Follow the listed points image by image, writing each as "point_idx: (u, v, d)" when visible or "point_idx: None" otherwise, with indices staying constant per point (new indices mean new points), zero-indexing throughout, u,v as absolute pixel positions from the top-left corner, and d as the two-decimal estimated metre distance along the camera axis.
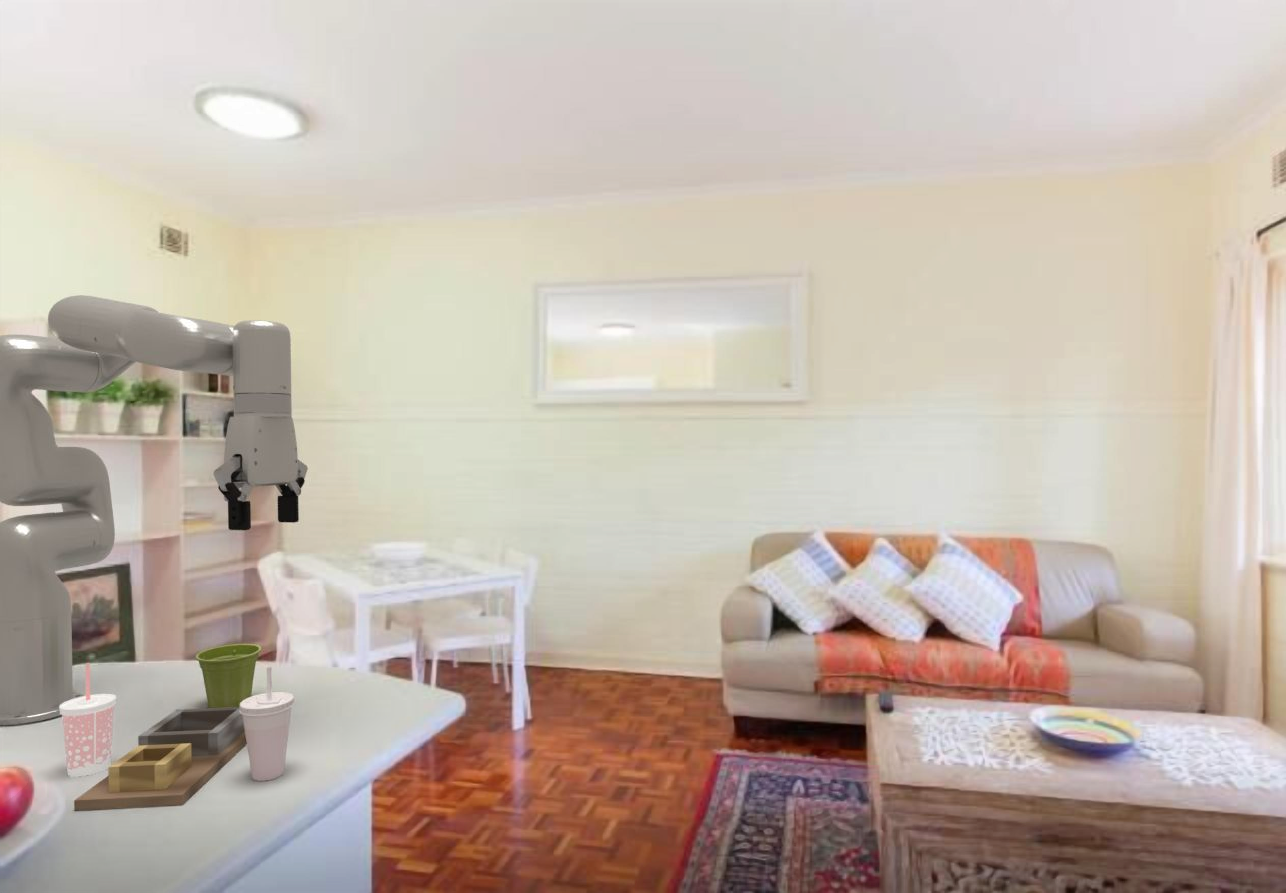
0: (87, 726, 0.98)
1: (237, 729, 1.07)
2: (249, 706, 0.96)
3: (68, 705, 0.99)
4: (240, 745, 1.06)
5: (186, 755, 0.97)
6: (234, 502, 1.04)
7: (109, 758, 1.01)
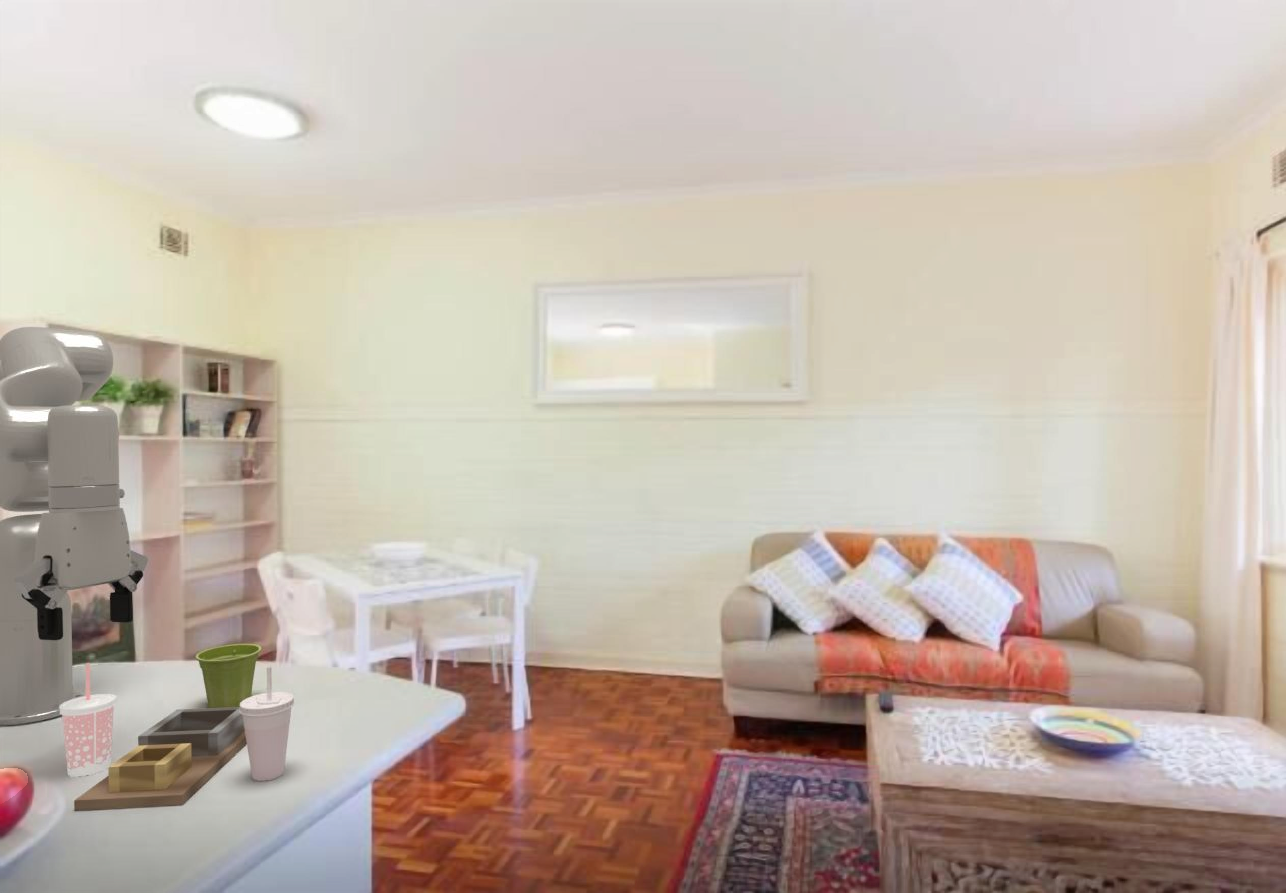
0: (87, 726, 0.98)
1: (237, 729, 1.07)
2: (249, 706, 0.96)
3: (68, 705, 0.99)
4: (240, 745, 1.06)
5: (186, 755, 0.97)
6: (42, 610, 0.94)
7: (109, 758, 1.01)
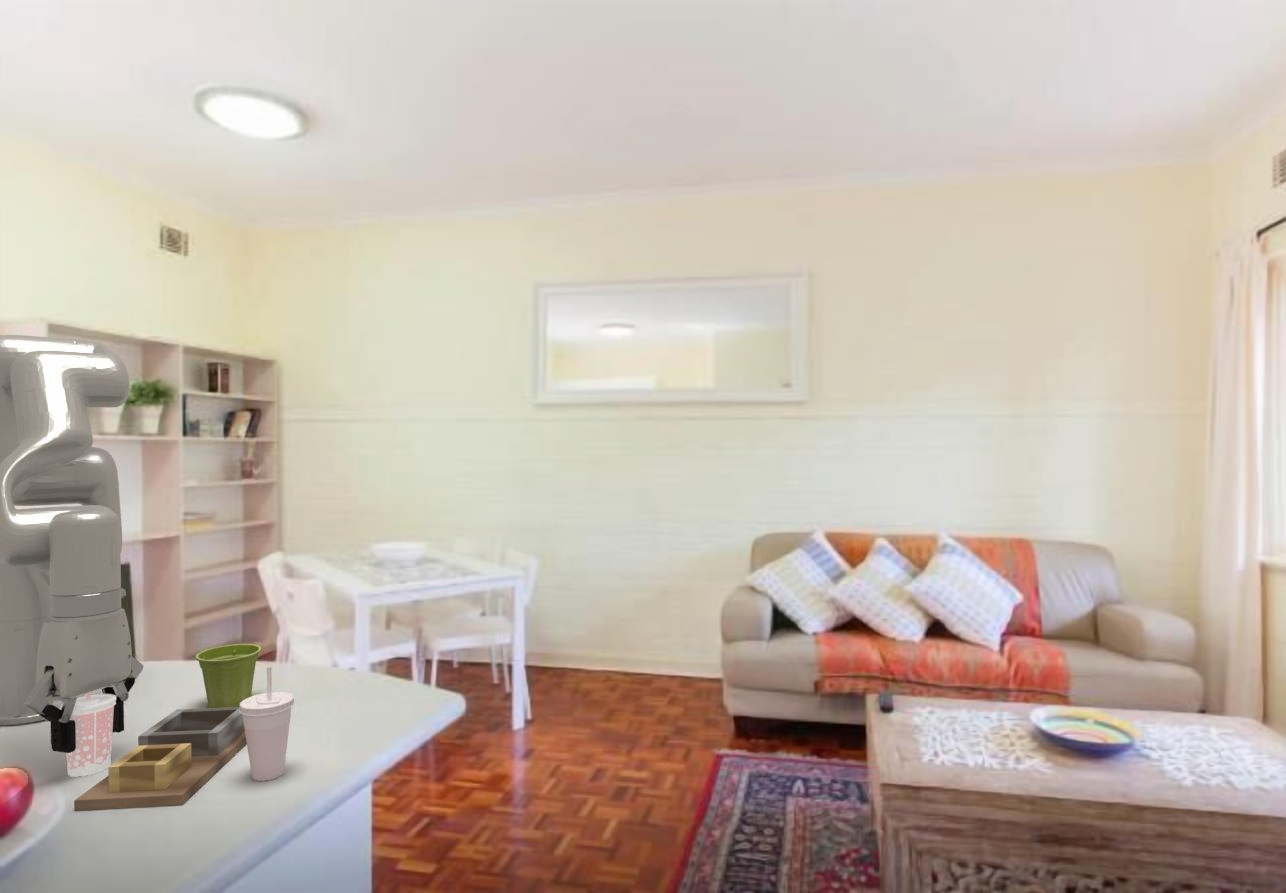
0: (87, 726, 0.98)
1: (237, 729, 1.07)
2: (249, 706, 0.96)
3: None
4: (240, 745, 1.06)
5: (186, 755, 0.97)
6: (56, 723, 0.96)
7: (109, 758, 1.01)
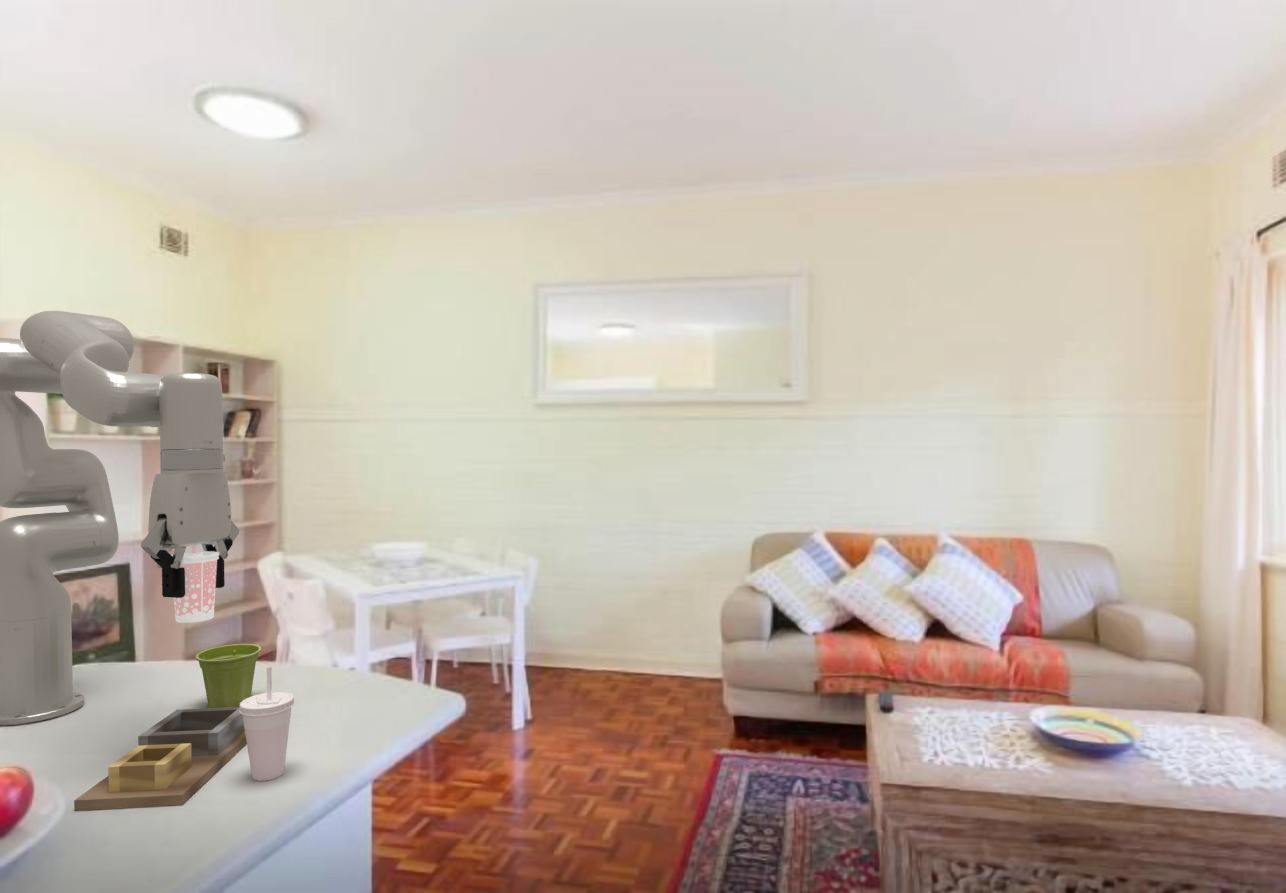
0: (195, 575, 1.03)
1: (237, 729, 1.07)
2: (249, 706, 0.96)
3: None
4: (240, 745, 1.06)
5: (186, 755, 0.97)
6: (167, 569, 1.01)
7: (213, 609, 1.06)
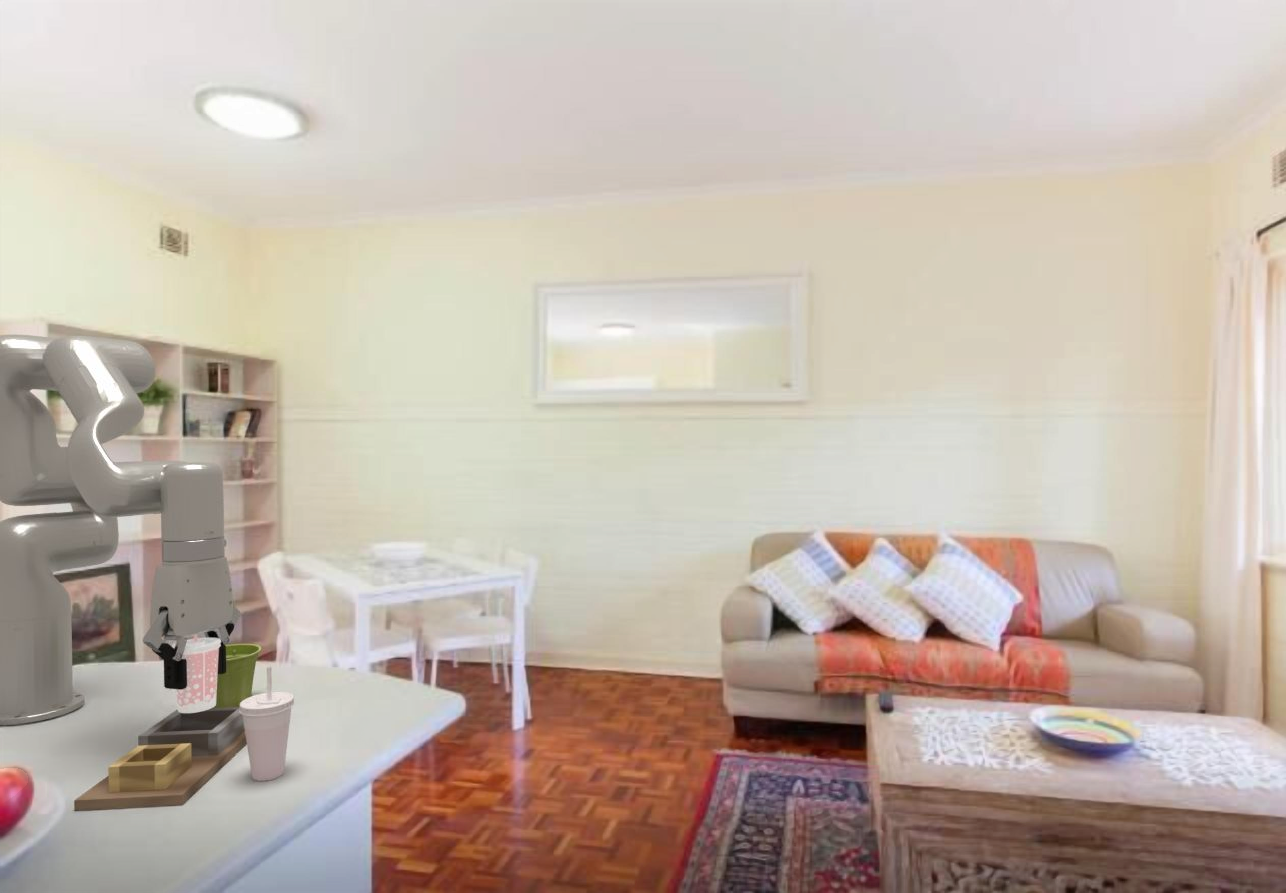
0: (197, 665, 1.04)
1: (237, 729, 1.07)
2: (249, 706, 0.96)
3: None
4: (240, 745, 1.06)
5: (186, 755, 0.97)
6: (169, 661, 1.01)
7: (215, 697, 1.06)
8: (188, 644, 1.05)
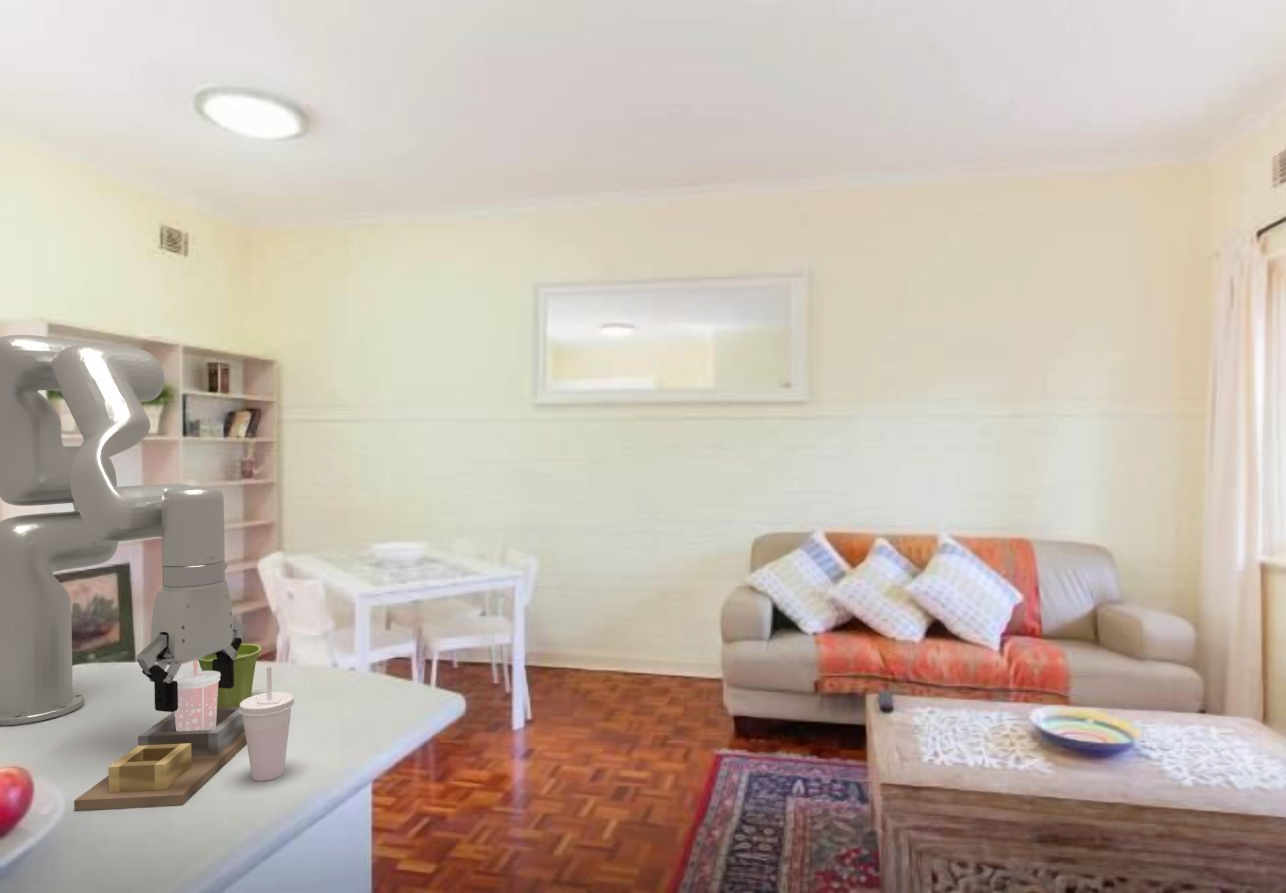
0: (195, 700, 1.04)
1: (237, 729, 1.07)
2: (249, 706, 0.96)
3: (178, 679, 1.05)
4: (240, 745, 1.06)
5: (186, 755, 0.97)
6: (160, 684, 1.00)
7: None
8: (188, 678, 1.05)
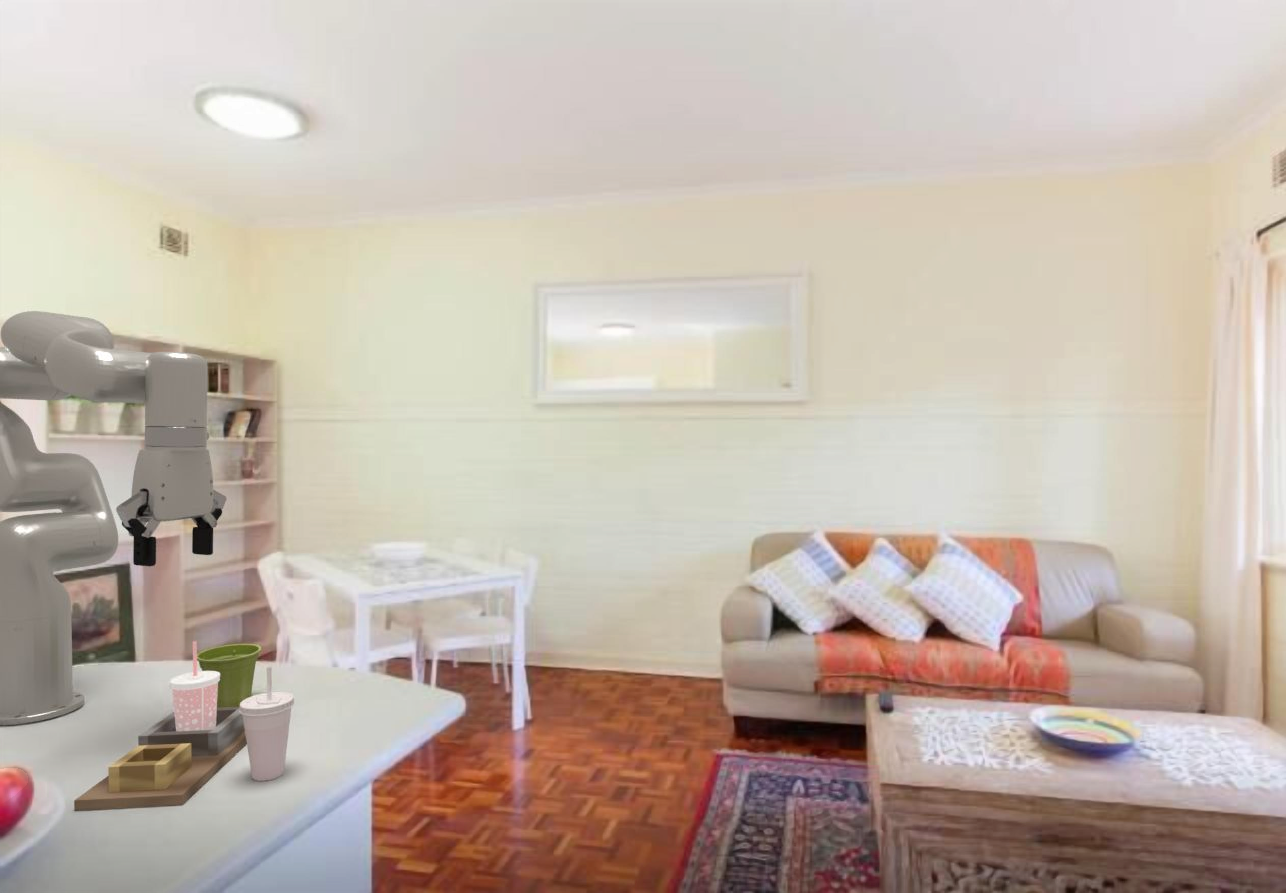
0: (195, 700, 1.04)
1: (237, 729, 1.07)
2: (249, 706, 0.96)
3: (177, 680, 1.05)
4: (240, 745, 1.06)
5: (186, 755, 0.97)
6: (139, 538, 1.03)
7: None
8: (187, 678, 1.05)
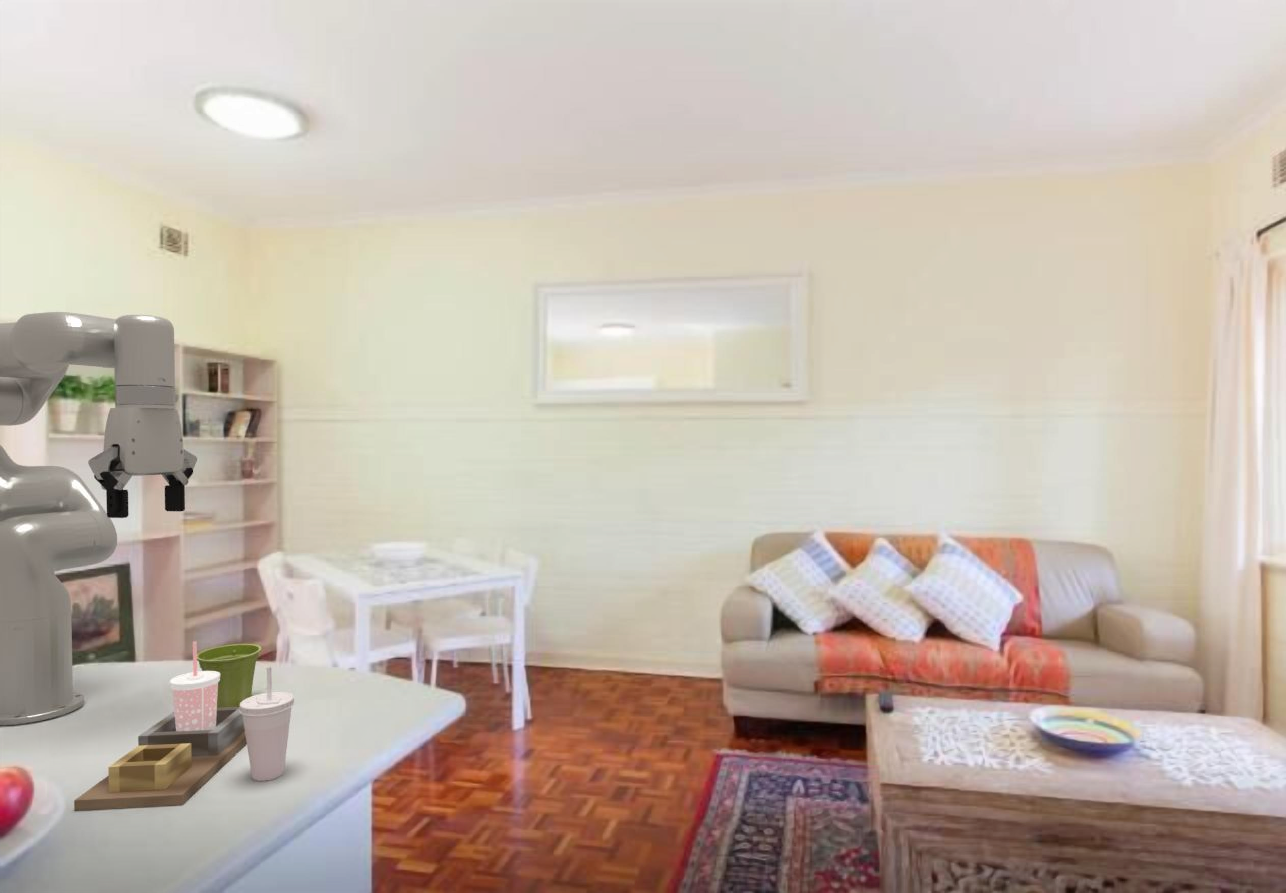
0: (195, 700, 1.04)
1: (237, 729, 1.07)
2: (249, 706, 0.96)
3: (177, 680, 1.05)
4: (240, 745, 1.06)
5: (186, 755, 0.97)
6: (111, 491, 1.08)
7: None
8: (187, 679, 1.05)
